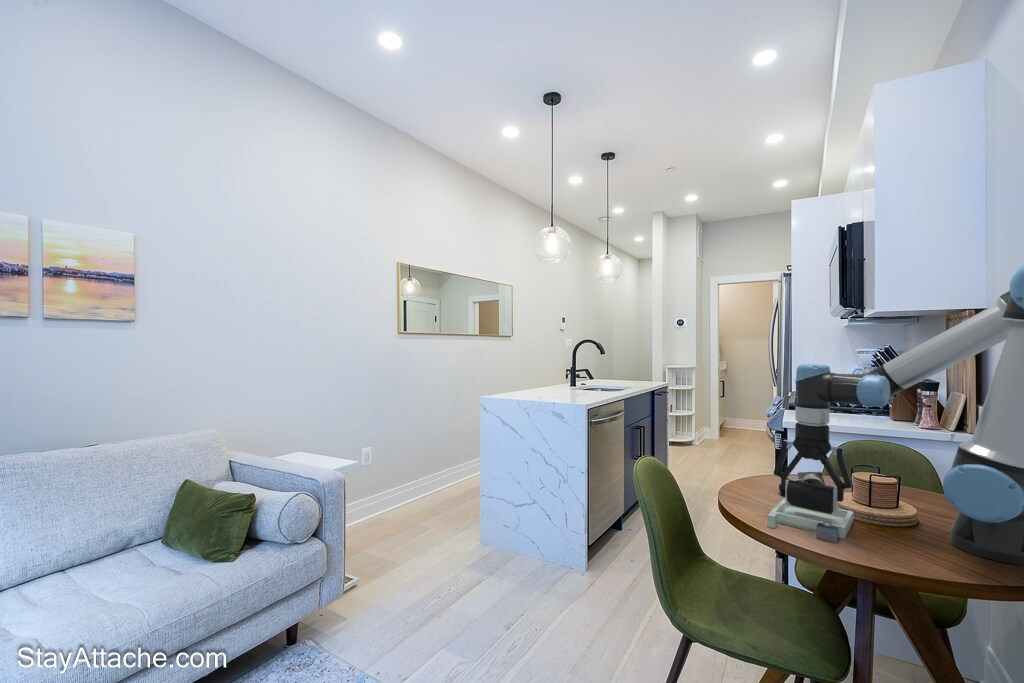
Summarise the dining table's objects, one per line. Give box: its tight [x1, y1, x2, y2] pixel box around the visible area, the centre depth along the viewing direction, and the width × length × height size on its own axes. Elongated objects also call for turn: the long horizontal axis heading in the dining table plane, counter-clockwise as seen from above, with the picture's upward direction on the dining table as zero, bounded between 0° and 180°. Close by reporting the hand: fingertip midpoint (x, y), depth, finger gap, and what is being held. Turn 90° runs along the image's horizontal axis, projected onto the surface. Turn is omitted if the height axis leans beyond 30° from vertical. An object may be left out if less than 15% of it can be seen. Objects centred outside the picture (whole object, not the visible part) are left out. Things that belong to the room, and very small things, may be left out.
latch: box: [815, 522, 840, 544], centre depth 112 cm, size 4×3×4 cm
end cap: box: [787, 479, 835, 514], centre depth 123 cm, size 10×7×7 cm
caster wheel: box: [778, 471, 826, 498], centre depth 144 cm, size 7×11×10 cm
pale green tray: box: [767, 497, 854, 540], centre depth 122 cm, size 16×20×3 cm
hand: (811, 508), depth 123 cm, fingers closed on end cap, 10 cm apart
